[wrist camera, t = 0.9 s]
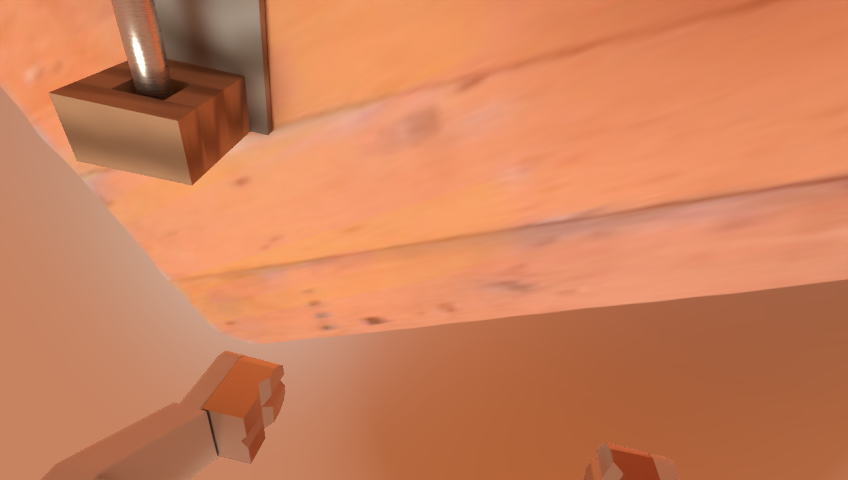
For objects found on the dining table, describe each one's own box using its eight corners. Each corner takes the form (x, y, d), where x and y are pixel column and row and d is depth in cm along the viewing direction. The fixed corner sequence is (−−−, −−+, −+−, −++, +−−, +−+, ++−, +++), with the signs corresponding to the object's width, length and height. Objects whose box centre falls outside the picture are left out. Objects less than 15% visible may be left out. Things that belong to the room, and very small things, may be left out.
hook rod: (134, -130, 30) (56, -141, 25) (176, -120, 30) (108, -129, 25) (187, 129, 44) (145, 160, 38) (216, 135, 44) (178, 167, 38)
